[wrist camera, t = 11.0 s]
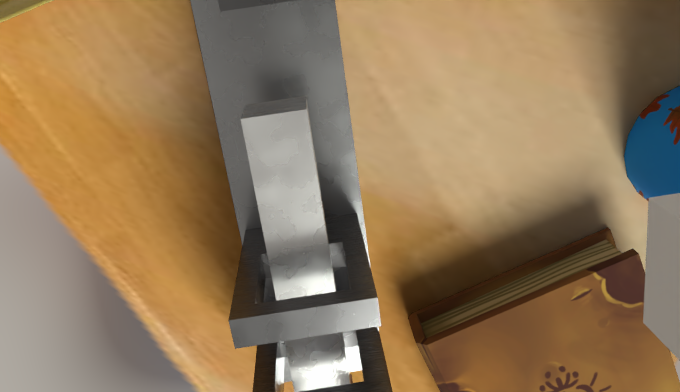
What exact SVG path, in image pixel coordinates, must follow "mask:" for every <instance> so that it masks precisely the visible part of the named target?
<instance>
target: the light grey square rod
mask: <svg viewBox="0 0 680 392" xmlns="http://www.w3.org/2000/svg"><path fill="white" fill-rule="evenodd" d="M241 124H242V129H243V134H244V139H245V144H246V149H247V154H248V159H249V164H250V169H251V174H252V179H253V185H254V190H255V195H256V200H257V205H258V210H259V215H260V220H261V225H262V230H263V235H264V240H265V245H266V250H267V255H268V260H269V265H270V271H271V276H272V281H273V286H274V291H275V296H276V301H277V300H283V299H290V298H296V297H303V296H309V295H316V294H322V293H329V292H335V291H336V285H335V279H334V272H333V266H332V260H331V253H330V247H329V240H328V234H327V228H326V221H325V215H324V209H323V202H322V196H321V190H320V183H319V177H318V170H317V164H316V158H315V151H314V145H313V139H312V132H311V126H310V119H309V113H308V107H307V100H306V96H301V97H294V98H288V99H281V100H274V101H267V102H261V103H254V104H247V105H245V108H244V111H243V114H242V116H241ZM285 346H286V352H287V357H288V362H289V367H290V372H291V377H292V382H293V387H294V392H300V391H306V390H313V389H319V388H325V387H332V386H338V385H345V384H351V383H353V381H352V375H351V374H349V368H348V362H347V355H346V349H345V342H344V336H343V332H339V333H333V334H326V335H320V336H313V337H307V338H301V339H294V340H288V341H285Z"/></svg>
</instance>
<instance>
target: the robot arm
mask: <svg viewBox="0 0 680 392" xmlns="http://www.w3.org/2000/svg"><path fill="white" fill-rule="evenodd" d="M643 323H644V324H645V325H646V326H647V327H648V328H649V329H650V330H651V331H652V332H653V333H654V334H655V335H656V336H657V337H658V338H659V339H660V341H661V342H662V343H663V344H664V345H665V346H666V347H667V348H668V349H669V350H670V351H671V352H672V353H673V354H674V355H675V356H676V357H677V358H678V359H679V360H680V193H677V194H670V195H663V196H657V197H650V198H649V204H648V226H647V248H646V270H645V292H644V314H643Z"/></svg>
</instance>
